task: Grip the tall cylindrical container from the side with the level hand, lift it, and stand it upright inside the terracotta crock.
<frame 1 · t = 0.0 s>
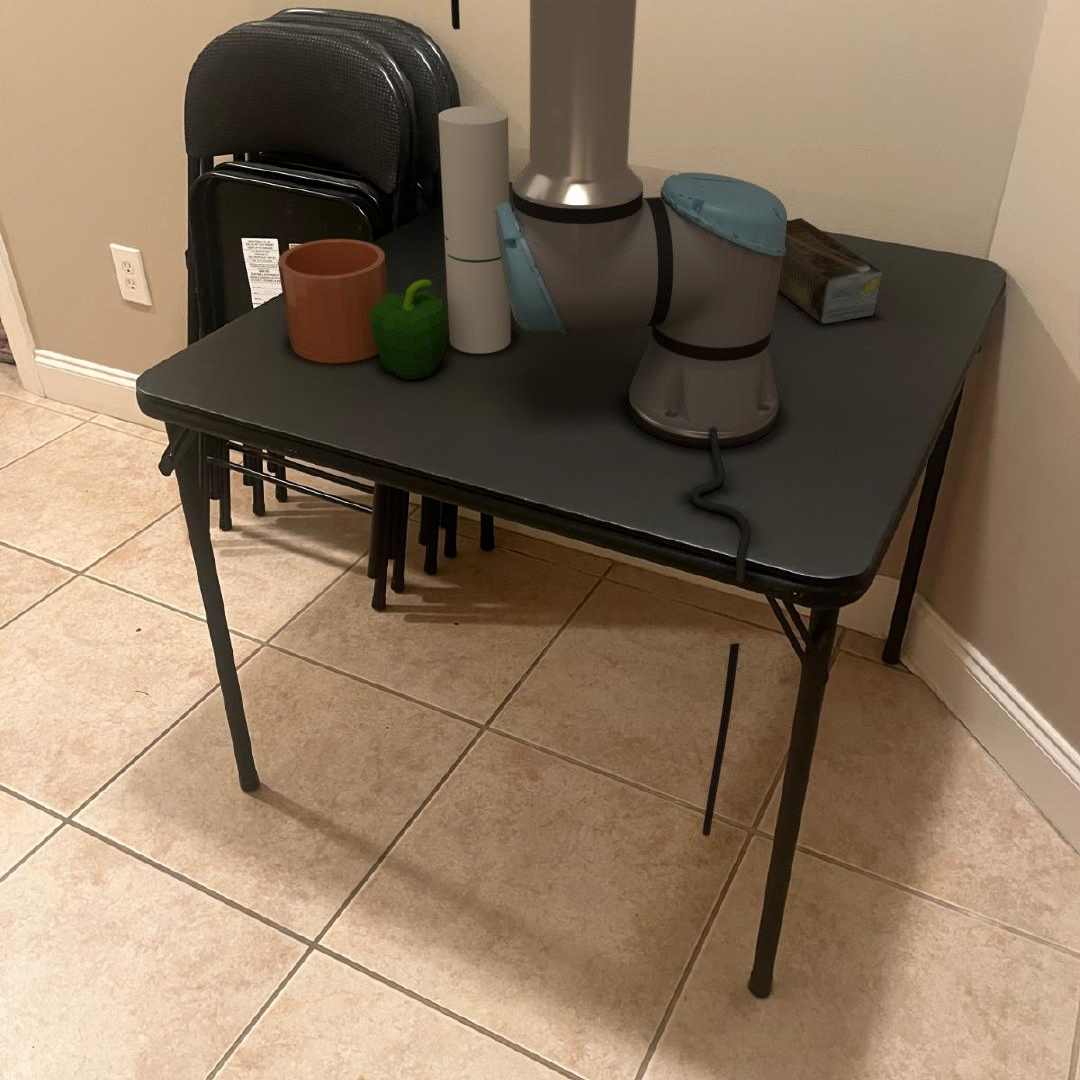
hand: (510, 26, 127), 28 cm above the table, tool pointing down, fingers open, 13 cm apart
beverage carton: (806, 293, 131), on the table
crock: (341, 340, 119), on the table
cylindrical container: (480, 341, 120), on the table
bell pepper: (413, 371, 113), on the table
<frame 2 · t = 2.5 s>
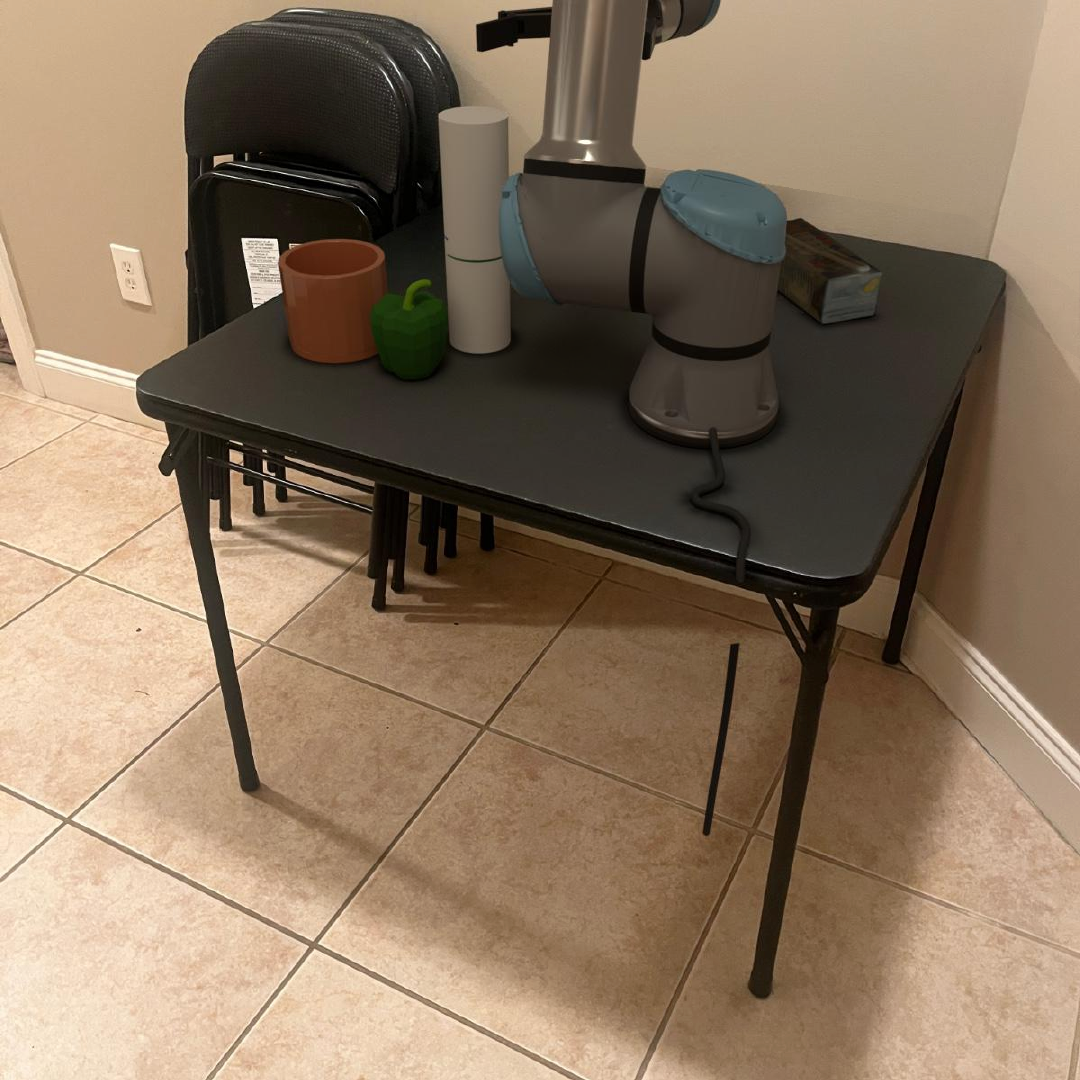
hand: (529, 46, 108), 30 cm above the table, tool horizontal, fingers open, 13 cm apart
nothing on the table moved.
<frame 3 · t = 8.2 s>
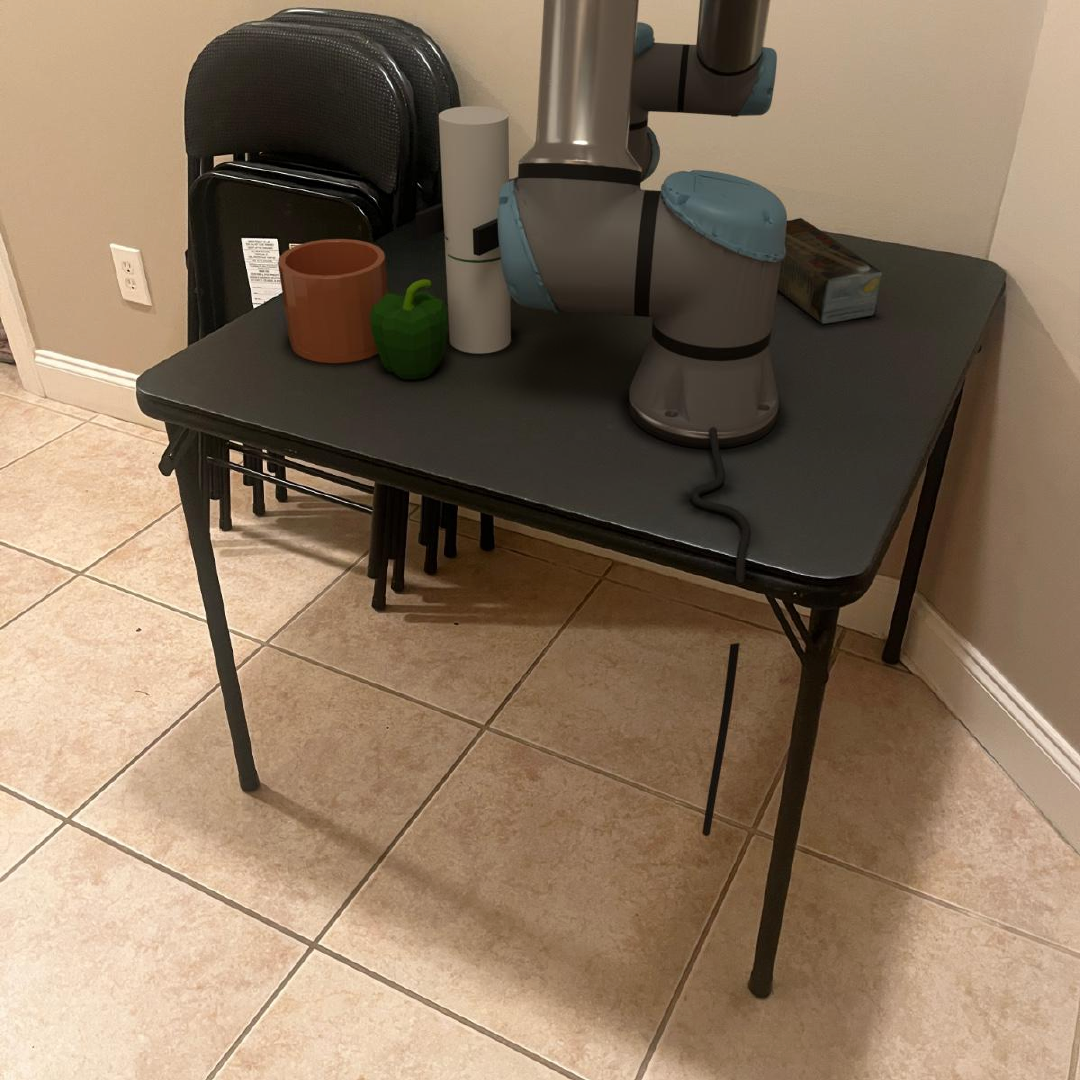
hand: (447, 234, 108), 14 cm above the table, tool horizontal, fingers closed on cylindrical container, 7 cm apart
cylindrical container: (480, 341, 120), on the table, touching gripper
everything else where it was.
when the fingers open (15 cm above the table, at t = 17.9 s): cylindrical container stays where it is, resting on crock.
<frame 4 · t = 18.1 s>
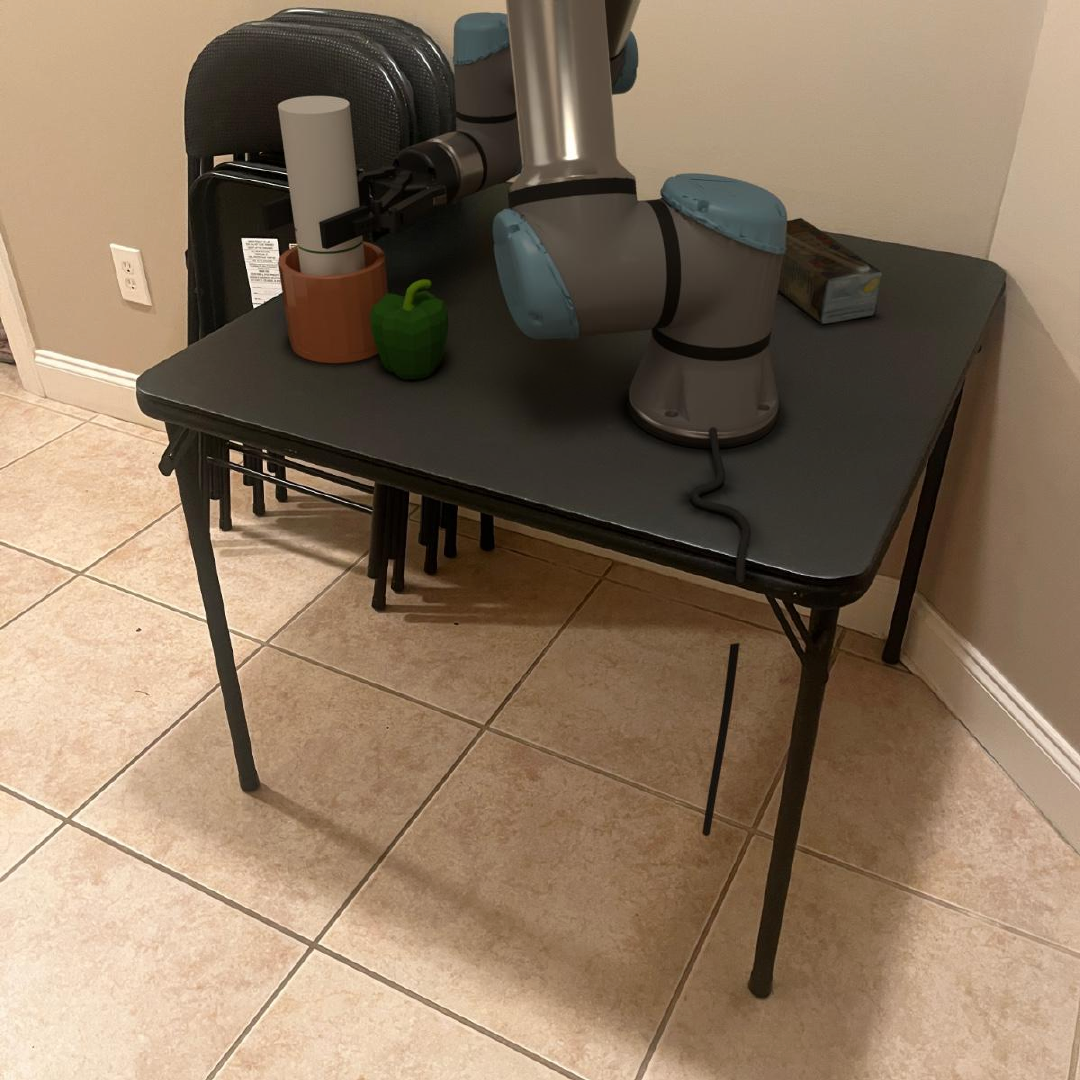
hand: (293, 226, 107), 15 cm above the table, tool horizontal, fingers open, 8 cm apart
cylindrical container: (340, 333, 119), point 1 cm above the table, touching crock
everything else where it was.
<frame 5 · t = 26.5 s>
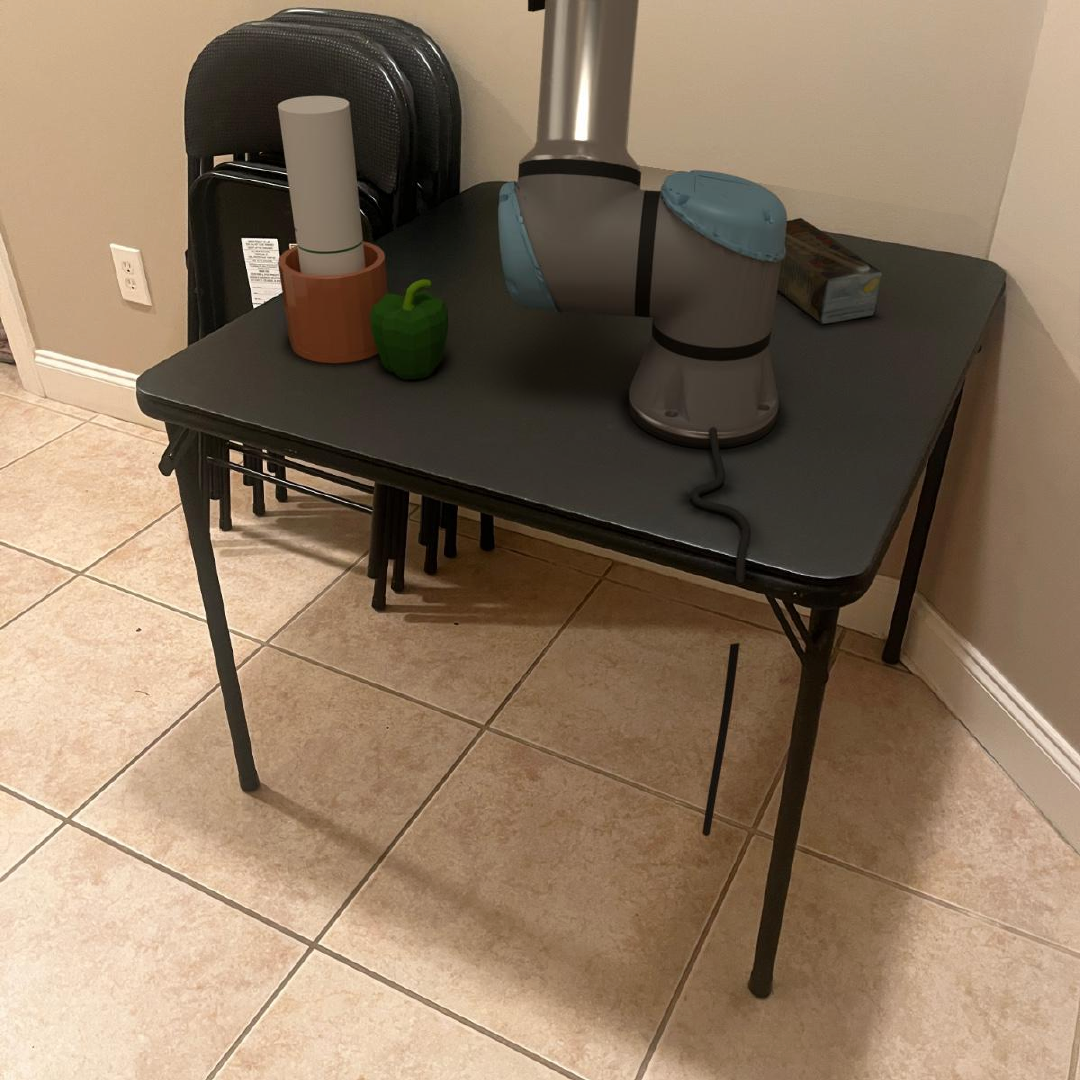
nothing on the table moved.
at the end: cylindrical container 0.1 cm off-centre in the crock, point 0.8 cm above the crock's base; cylindrical container tilted 0°; the gripper is holding nothing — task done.
